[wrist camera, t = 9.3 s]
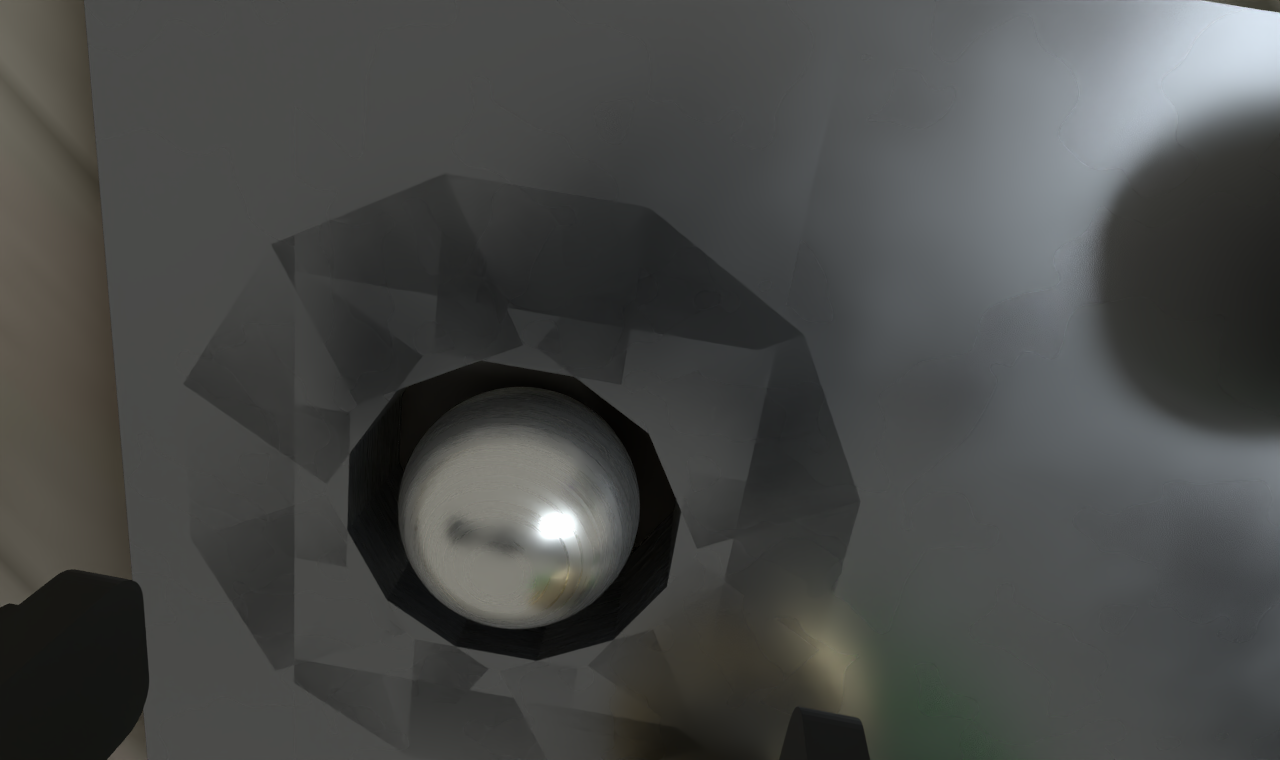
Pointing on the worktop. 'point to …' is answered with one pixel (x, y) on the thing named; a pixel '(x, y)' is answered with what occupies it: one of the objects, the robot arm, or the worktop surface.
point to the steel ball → (518, 507)
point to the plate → (709, 366)
